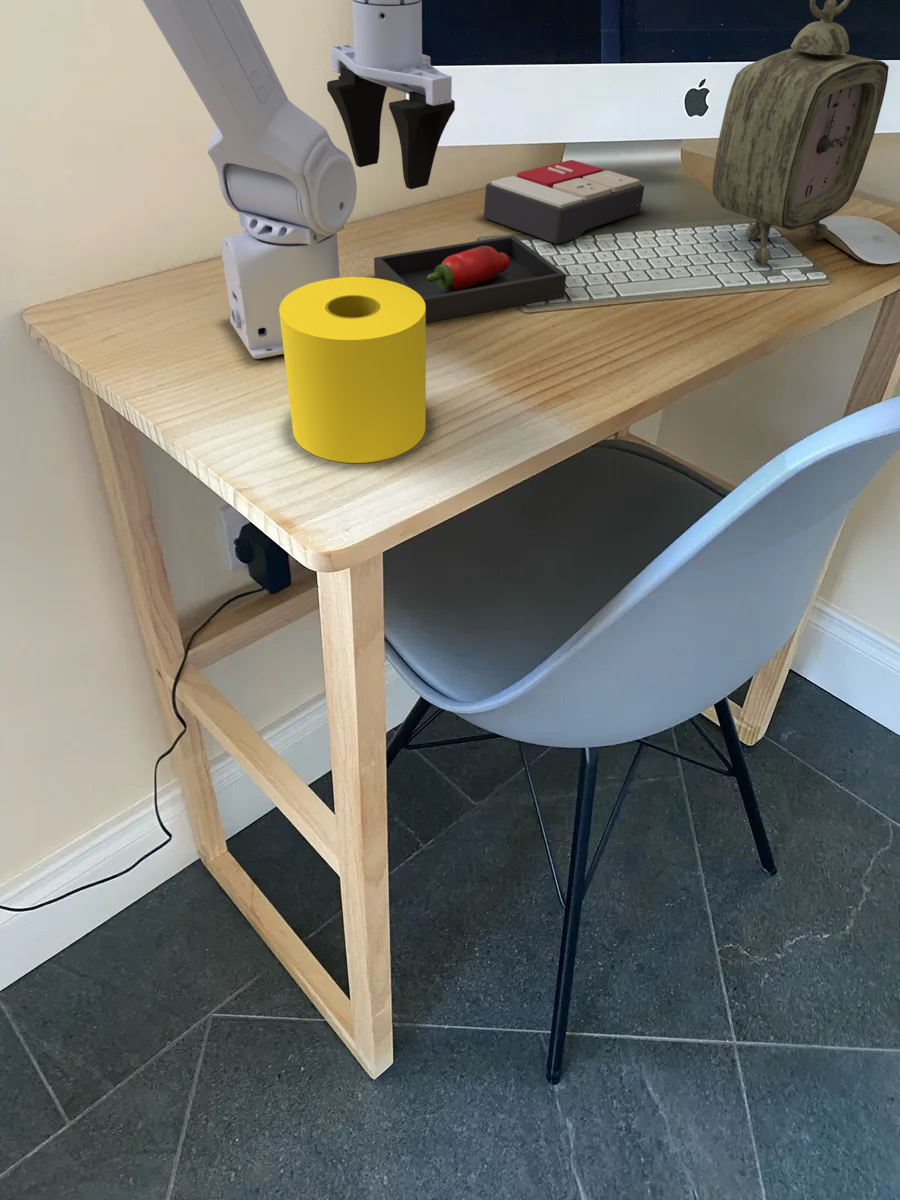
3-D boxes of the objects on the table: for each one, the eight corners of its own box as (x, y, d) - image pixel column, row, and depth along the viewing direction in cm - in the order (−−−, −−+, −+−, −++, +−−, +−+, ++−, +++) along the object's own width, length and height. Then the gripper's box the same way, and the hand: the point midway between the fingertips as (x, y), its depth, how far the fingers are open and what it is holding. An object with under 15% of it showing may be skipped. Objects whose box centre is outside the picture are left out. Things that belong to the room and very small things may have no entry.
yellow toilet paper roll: (449, 440, 68) (452, 320, 61) (326, 477, 64) (315, 352, 57) (388, 382, 74) (384, 267, 68) (272, 412, 70) (257, 293, 64)
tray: (417, 324, 82) (417, 301, 80) (374, 279, 89) (373, 257, 87) (564, 297, 87) (566, 274, 85) (512, 256, 94) (513, 234, 92)
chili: (436, 305, 84) (439, 273, 82) (415, 290, 86) (418, 258, 83) (516, 278, 89) (521, 247, 87) (494, 264, 91) (499, 233, 88)
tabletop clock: (763, 275, 91) (838, -25, 75) (691, 248, 96) (746, -38, 80) (841, 241, 98) (926, -39, 82) (770, 217, 103) (836, -51, 87)
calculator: (647, 178, 102) (562, 202, 93) (640, 218, 104) (557, 245, 96) (571, 155, 107) (484, 176, 99) (566, 194, 110) (481, 217, 101)
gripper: (482, 8, 72) (476, 187, 81) (373, -18, 80) (379, 148, 89) (412, 18, 69) (414, 203, 78) (306, -10, 77) (319, 161, 86)
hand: (391, 175), depth 83 cm, fingers open, 7 cm apart
